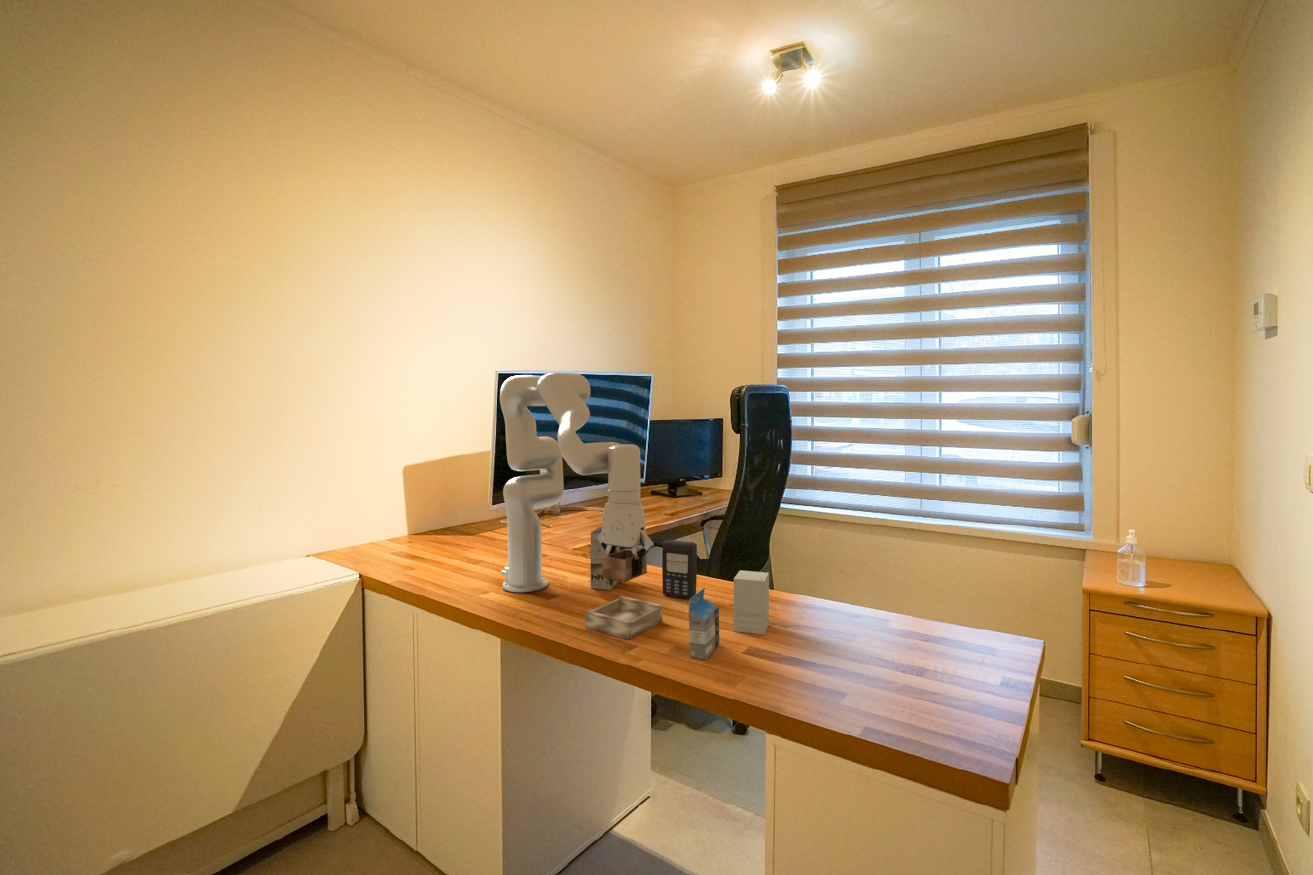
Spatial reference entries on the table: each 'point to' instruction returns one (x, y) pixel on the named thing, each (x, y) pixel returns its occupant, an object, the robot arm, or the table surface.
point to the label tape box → (703, 626)
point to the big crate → (624, 617)
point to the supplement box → (751, 602)
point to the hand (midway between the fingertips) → (624, 571)
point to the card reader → (679, 568)
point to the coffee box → (598, 564)
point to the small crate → (620, 566)
